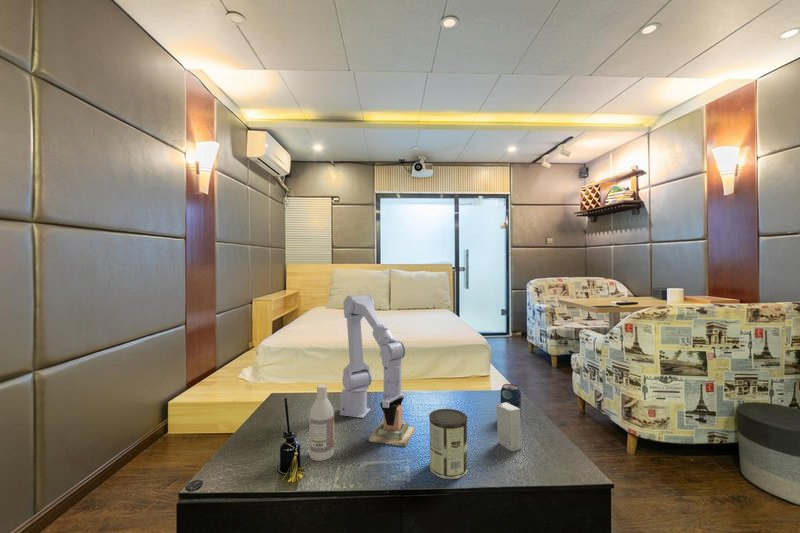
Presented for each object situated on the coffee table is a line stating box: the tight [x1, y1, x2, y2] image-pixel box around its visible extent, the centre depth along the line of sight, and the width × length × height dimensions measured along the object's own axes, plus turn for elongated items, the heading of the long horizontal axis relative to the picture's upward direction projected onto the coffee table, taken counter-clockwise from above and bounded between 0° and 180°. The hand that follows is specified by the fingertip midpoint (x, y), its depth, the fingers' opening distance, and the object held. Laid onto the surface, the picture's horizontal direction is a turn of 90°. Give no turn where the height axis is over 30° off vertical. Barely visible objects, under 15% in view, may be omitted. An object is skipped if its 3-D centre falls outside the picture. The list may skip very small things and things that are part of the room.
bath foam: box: [308, 384, 335, 462], centre depth 100 cm, size 7×7×20 cm
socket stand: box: [368, 419, 416, 447], centre depth 111 cm, size 12×11×3 cm
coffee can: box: [428, 408, 468, 480], centre depth 93 cm, size 10×10×14 cm
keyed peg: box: [383, 404, 403, 431], centre depth 111 cm, size 5×4×7 cm
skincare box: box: [496, 402, 522, 452], centre depth 105 cm, size 6×4×12 cm
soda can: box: [500, 383, 522, 420], centre depth 123 cm, size 7×7×12 cm
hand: (392, 421), depth 111 cm, fingers closed on keyed peg, 4 cm apart
